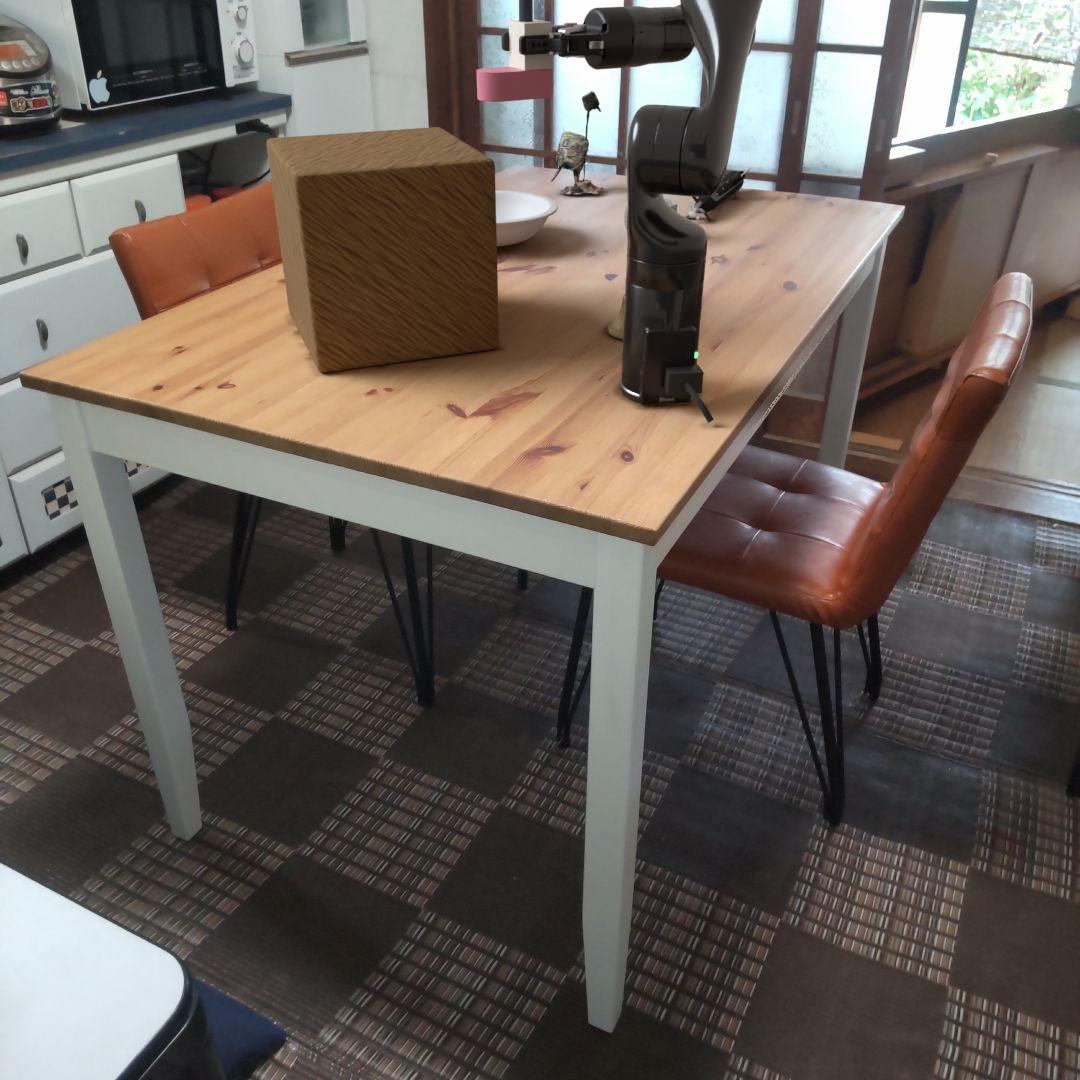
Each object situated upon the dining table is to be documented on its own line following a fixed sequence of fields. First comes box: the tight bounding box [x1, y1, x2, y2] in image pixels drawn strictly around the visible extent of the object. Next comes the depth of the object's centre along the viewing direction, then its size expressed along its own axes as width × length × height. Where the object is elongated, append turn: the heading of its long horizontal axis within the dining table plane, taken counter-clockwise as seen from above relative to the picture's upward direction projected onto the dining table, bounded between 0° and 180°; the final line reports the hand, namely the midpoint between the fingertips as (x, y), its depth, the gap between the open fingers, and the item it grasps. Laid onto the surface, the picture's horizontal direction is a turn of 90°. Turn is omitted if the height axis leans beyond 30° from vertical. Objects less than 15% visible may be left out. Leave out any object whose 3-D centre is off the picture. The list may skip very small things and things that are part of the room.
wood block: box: [266, 126, 500, 373], centre depth 139 cm, size 25×25×25 cm
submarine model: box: [685, 167, 751, 223], centre depth 205 cm, size 31×7×10 cm
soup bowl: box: [495, 189, 559, 247], centre depth 183 cm, size 24×24×7 cm
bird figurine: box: [550, 90, 604, 196], centre depth 212 cm, size 8×11×20 cm
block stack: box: [476, 0, 554, 103], centre depth 132 cm, size 10×5×12 cm, turn 118°
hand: (511, 43), depth 132 cm, fingers closed on block stack, 4 cm apart
